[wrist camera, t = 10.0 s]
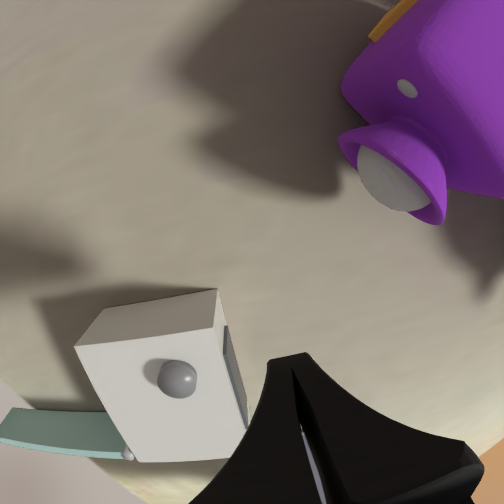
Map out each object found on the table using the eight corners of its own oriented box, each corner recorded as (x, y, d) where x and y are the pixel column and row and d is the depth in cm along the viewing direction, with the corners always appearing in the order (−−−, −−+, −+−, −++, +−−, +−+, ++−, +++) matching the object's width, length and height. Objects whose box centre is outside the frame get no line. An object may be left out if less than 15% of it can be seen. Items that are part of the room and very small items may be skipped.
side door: (143, 409, 22) (130, 453, 18) (148, 419, 23) (137, 462, 18) (12, 406, 22) (-9, 435, 18) (18, 415, 23) (-2, 444, 18)
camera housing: (253, 414, 23) (258, 471, 17) (155, 425, 23) (142, 478, 17) (220, 288, 20) (216, 334, 14) (103, 308, 20) (67, 353, 14)
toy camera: (287, 158, 18) (344, 154, 8) (374, -4, 15) (449, -76, 6) (422, 240, 20) (525, 294, 10) (486, 86, 17) (583, 72, 7)
